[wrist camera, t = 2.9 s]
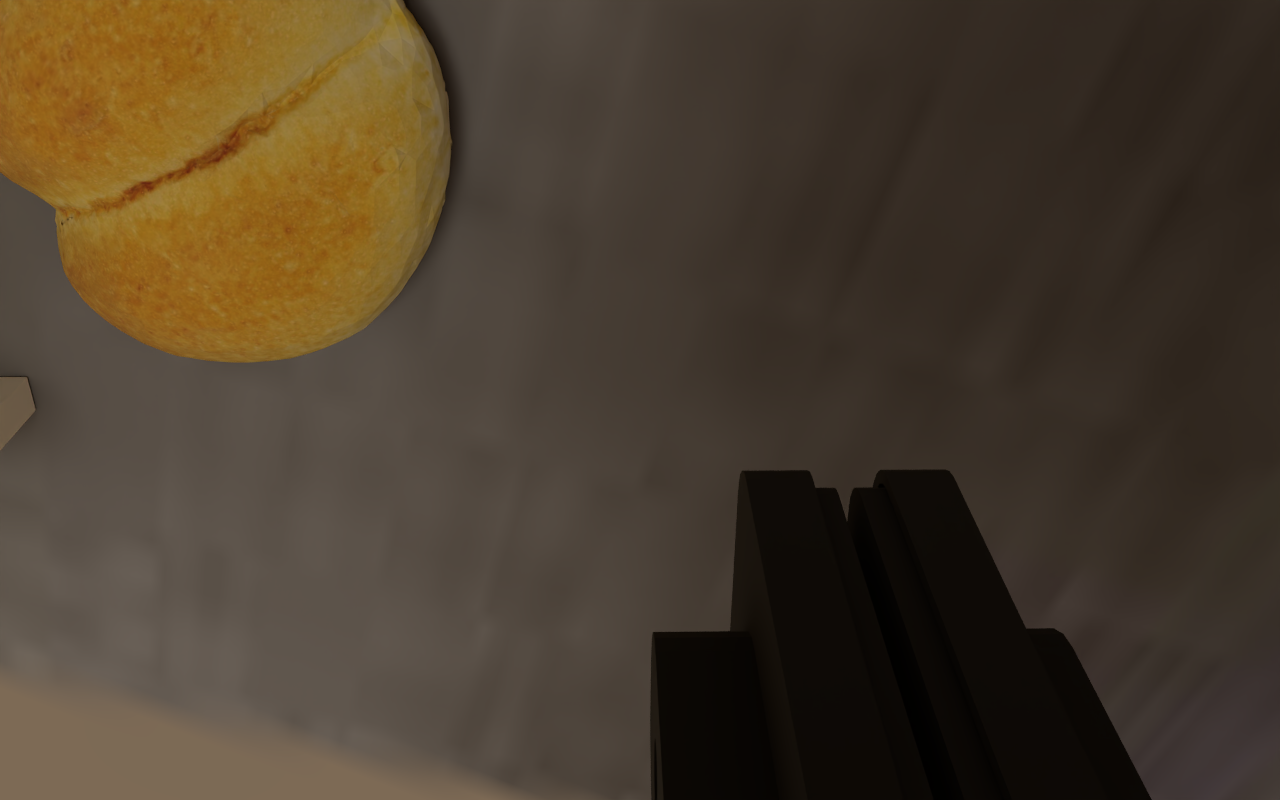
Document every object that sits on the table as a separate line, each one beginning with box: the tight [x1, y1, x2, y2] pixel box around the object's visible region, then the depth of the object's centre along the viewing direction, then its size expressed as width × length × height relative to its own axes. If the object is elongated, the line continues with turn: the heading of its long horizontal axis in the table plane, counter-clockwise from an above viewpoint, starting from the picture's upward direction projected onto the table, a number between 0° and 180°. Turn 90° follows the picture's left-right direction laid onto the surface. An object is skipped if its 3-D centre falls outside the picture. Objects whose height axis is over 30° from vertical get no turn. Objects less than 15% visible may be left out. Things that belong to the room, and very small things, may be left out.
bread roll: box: [0, 0, 452, 362], centre depth 21 cm, size 8×9×4 cm
